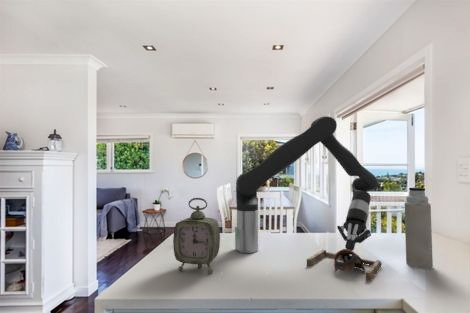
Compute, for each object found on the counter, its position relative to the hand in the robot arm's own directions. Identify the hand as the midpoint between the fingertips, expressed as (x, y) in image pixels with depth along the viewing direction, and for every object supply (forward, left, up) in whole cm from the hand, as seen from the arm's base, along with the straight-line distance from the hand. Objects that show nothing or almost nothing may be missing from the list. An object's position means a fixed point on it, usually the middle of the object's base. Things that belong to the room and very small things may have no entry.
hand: (349, 250), depth 102 cm
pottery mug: (-6, -6, -5) cm, 10 cm away
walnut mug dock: (-5, -3, -4) cm, 8 cm away
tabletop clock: (-55, +12, -5) cm, 57 cm away
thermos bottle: (+21, -12, -5) cm, 25 cm away
